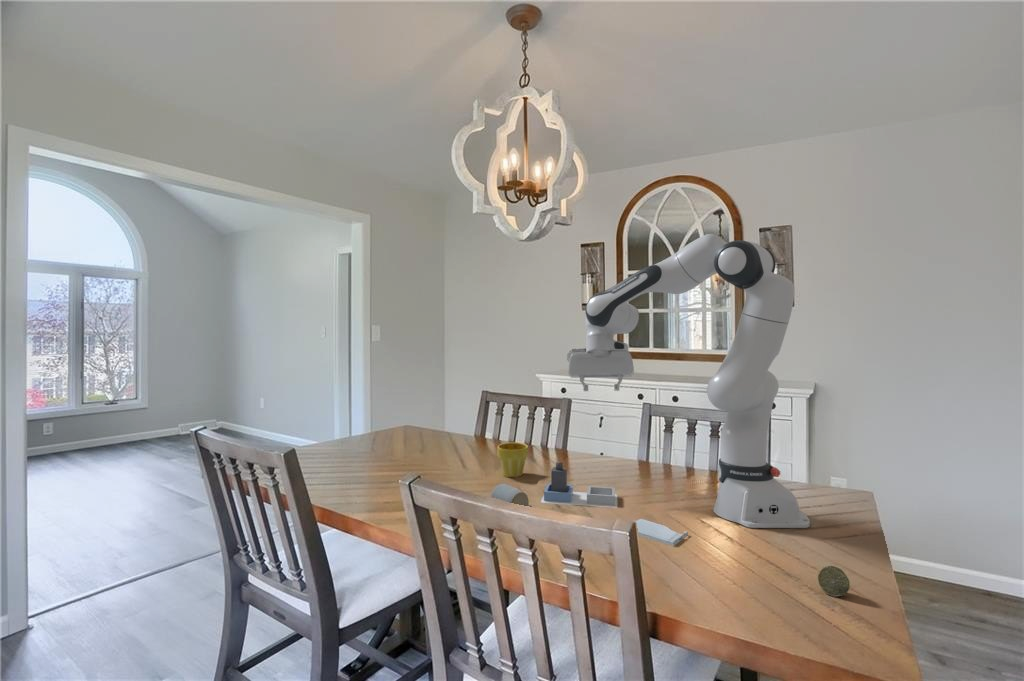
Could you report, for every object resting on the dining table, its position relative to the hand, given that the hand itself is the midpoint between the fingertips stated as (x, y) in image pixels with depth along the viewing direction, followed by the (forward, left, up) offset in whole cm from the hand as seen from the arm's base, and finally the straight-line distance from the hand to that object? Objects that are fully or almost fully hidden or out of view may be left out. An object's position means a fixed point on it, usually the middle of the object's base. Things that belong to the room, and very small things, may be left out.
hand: (601, 390), depth 157 cm
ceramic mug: (+23, +27, -30) cm, 46 cm away
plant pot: (+30, -8, -30) cm, 43 cm away
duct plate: (+6, +14, -30) cm, 34 cm away
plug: (+12, +14, -29) cm, 34 cm away
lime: (-44, +55, -30) cm, 77 cm away
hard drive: (-14, +33, -31) cm, 47 cm away
